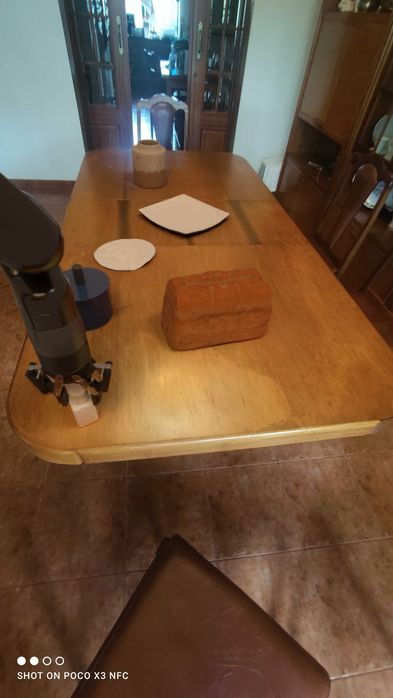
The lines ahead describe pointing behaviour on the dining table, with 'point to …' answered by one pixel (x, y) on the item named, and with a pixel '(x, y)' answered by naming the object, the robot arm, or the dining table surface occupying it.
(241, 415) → the dining table surface
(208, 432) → the dining table surface
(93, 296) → the pot lid
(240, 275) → the bread
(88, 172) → the dining table surface
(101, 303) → the pot
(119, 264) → the plaque
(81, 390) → the salt shaker
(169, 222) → the plate
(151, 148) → the vase
